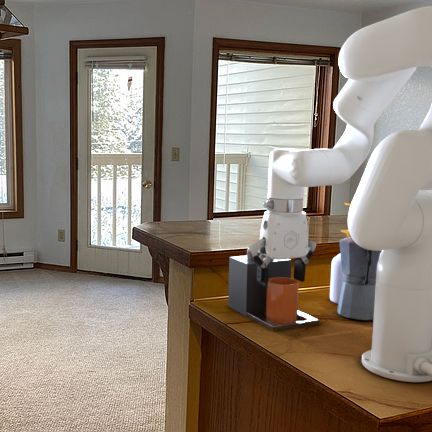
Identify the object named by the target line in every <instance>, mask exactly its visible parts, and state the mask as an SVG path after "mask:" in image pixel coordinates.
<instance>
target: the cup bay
mask: <svg viewBox="0 0 432 432" xmlns="http://www.w3.org/2000/svg"><path fill="white" fill-rule="evenodd" d="M245 317H247V318H248V319H250V320H251V321H254V322H256V323H257V324H259V325H261V326H263V327H265V328H266V329H268V330H270V331H272V332H277V331H282V330H289V329H295V328H304V327H309V326H317V325H320V319H318V318H316V317H314V316H311V315H309V314H307V313H305V312H303V311H301V310H299V309H298V314H297V322H290V323H284V324H277V323H275V322H273V321H271V320H269V319H267V318H266V316H263V315H262V314H258V313H256V312H254V311H253V312H246V316H245Z"/></svg>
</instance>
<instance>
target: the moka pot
mask: <svg viewBox="0 0 432 432" xmlns="http://www.w3.org/2000/svg"><path fill="white" fill-rule="evenodd" d="M339 250H340V253H341V266H342V272H343V280H344V282H343V284H342V290H341V294H340V299H339V304H337V308H336V309H337V310H336V312H337V314H338V316H339V315H340V316H341V317H344V318H345V319H352V320H357V321H373V319H374V303H375V287H376V272H377V265H378V260H379V257H380V254H381V251H382V250H381V251H373V250H367V249H364V248H362V247H360V246H359V245H357V244H356V243H355V242H354V240H353V239H352V237H344V238H341V239H340V240H339Z"/></svg>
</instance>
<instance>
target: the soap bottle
mask: <svg viewBox="0 0 432 432" xmlns="http://www.w3.org/2000/svg"><path fill="white" fill-rule="evenodd" d="M344 206H348V207H350V206H351V203H348V202H344ZM340 233H343V234H346V237H347V238H349V237H351V236H350V233H349V230H348V229H341V230H340ZM330 266H331V268H330V284H329V285H330V286H329V299H330V302H333V303H335V304H337V305H338V304H339V299H340V294H341V290H342V284H343V282H344V280H343V272H342V266H341V252H340V253H338V254H337V255H335V256H334V257H333V258H332V260H331V265H330Z"/></svg>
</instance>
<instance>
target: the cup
mask: <svg viewBox="0 0 432 432" xmlns="http://www.w3.org/2000/svg"><path fill="white" fill-rule="evenodd" d="M299 286H300V281H299V280H296V279H294V278H292V277H291V278H287V277H272V278H268V285H267V286H266V314H265V318H267V319H269V320H271V321H273V322H275V323H277V324H284V323H290V322H297V321H298V318H297V314H298V310H299V288H300V287H299Z"/></svg>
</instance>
